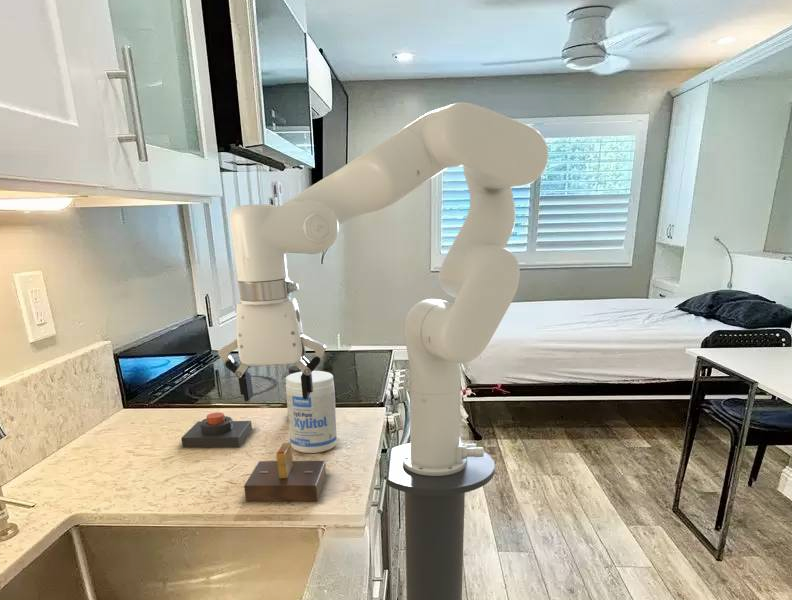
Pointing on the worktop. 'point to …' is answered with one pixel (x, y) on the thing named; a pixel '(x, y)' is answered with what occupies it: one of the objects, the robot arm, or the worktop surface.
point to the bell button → (215, 418)
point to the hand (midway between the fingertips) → (277, 397)
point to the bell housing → (217, 434)
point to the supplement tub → (312, 413)
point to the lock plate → (285, 482)
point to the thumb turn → (284, 460)
